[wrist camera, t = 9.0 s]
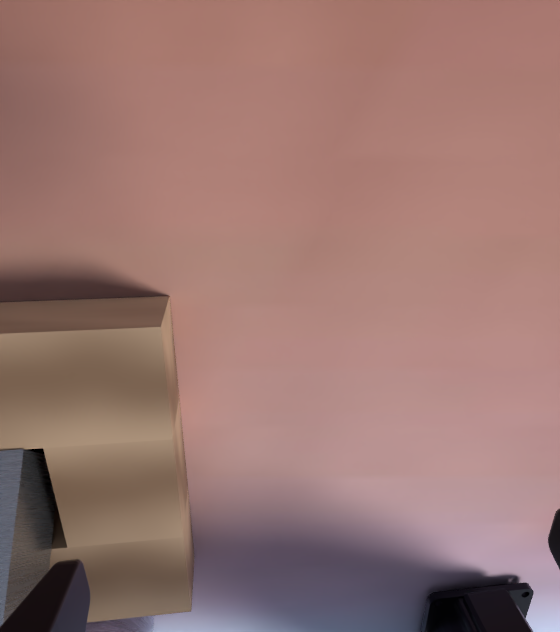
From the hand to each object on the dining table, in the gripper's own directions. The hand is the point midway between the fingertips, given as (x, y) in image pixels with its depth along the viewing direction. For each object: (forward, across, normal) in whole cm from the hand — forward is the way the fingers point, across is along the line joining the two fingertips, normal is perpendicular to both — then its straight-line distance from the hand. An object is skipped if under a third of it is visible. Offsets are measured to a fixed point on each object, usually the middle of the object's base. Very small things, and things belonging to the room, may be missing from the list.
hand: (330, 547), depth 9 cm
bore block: (+12, +12, +7) cm, 18 cm away
